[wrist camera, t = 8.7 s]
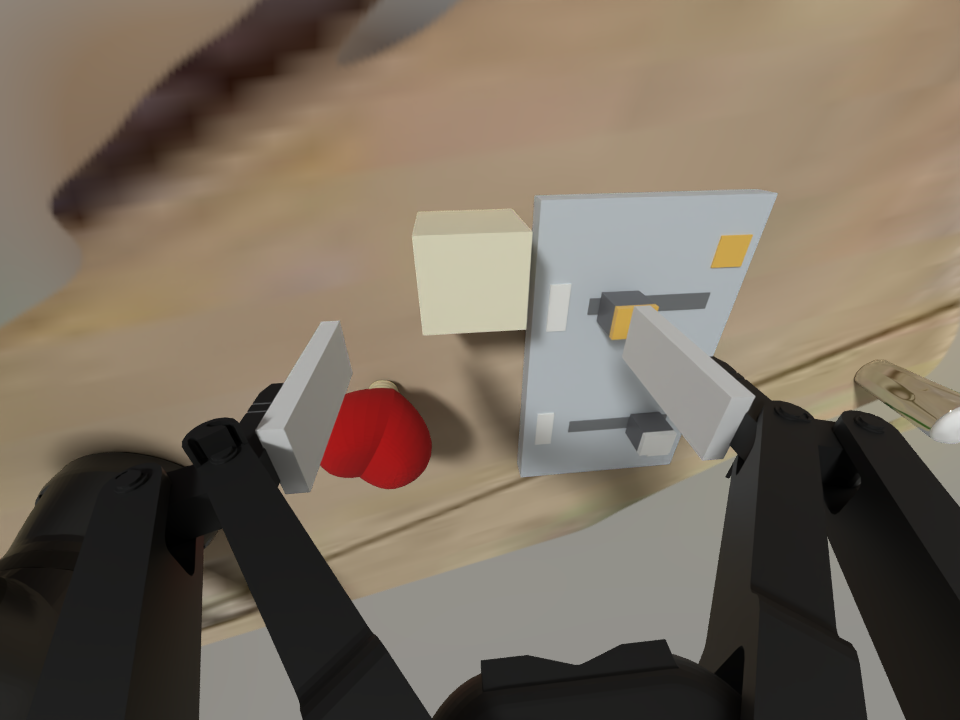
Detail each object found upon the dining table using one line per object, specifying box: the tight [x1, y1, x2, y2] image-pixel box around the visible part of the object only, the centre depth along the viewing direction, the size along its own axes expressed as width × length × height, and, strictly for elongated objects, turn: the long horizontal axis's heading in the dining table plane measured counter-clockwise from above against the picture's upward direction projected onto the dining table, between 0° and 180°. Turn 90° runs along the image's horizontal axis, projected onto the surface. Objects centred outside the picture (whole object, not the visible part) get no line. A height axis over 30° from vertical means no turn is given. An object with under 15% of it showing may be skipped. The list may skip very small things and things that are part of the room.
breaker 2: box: [625, 412, 677, 456], centre depth 35 cm, size 3×2×3 cm
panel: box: [517, 189, 778, 477], centre depth 33 cm, size 17×28×2 cm, turn 1°
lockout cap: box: [412, 209, 533, 335], centre depth 25 cm, size 7×6×7 cm
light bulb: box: [320, 380, 432, 489], centre depth 29 cm, size 9×7×10 cm
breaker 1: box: [597, 290, 659, 340], centre depth 28 cm, size 3×2×3 cm
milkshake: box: [854, 360, 960, 444], centre depth 34 cm, size 5×5×10 cm
